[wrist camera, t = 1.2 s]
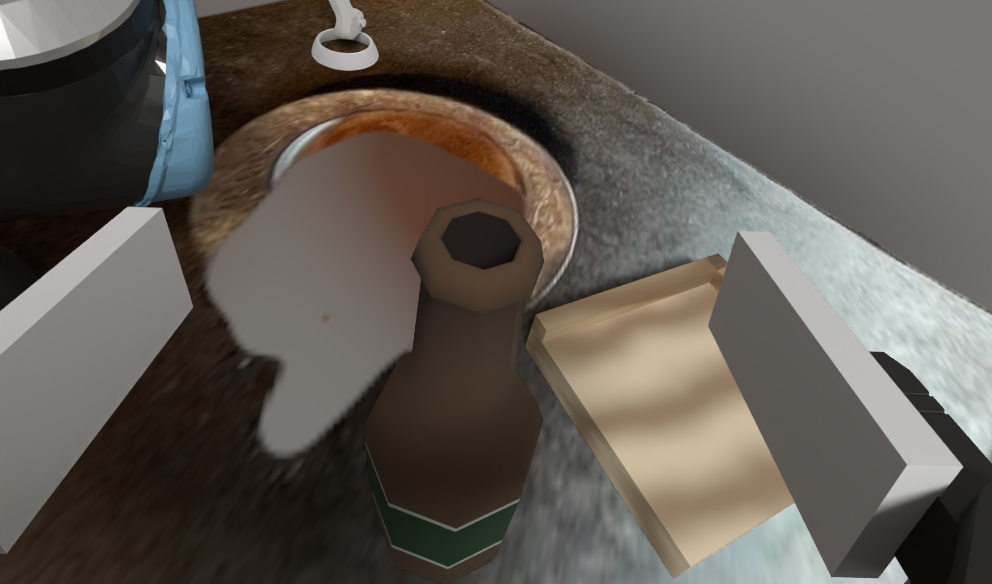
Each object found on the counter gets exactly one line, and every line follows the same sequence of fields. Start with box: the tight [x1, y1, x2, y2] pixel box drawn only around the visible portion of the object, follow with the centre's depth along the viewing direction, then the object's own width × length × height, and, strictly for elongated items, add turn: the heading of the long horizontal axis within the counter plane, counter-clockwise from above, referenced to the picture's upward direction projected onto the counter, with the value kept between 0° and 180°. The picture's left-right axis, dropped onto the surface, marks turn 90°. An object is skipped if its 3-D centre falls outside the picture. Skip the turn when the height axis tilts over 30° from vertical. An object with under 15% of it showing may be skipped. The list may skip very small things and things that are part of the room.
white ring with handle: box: [311, 0, 379, 70], centre depth 66 cm, size 8×12×7 cm
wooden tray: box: [525, 254, 795, 579], centre depth 41 cm, size 18×18×4 cm
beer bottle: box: [365, 198, 544, 584], centre depth 25 cm, size 8×8×24 cm
